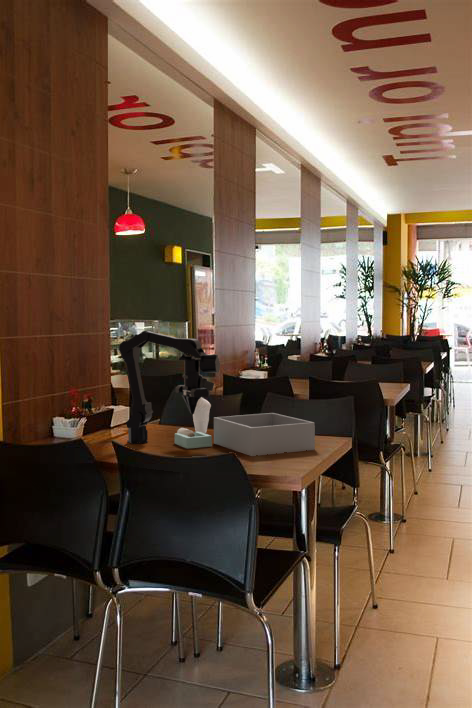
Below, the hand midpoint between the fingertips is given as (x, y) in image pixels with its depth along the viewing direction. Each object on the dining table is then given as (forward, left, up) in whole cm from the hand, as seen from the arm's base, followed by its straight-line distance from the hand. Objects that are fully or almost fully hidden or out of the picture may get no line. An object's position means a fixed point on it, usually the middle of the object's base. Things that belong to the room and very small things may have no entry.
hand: (192, 413), depth 273 cm
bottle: (-1, +8, -8) cm, 11 cm away
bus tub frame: (+22, -16, -12) cm, 29 cm away
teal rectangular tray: (0, 0, -12) cm, 12 cm away
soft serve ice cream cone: (+15, +24, -12) cm, 31 cm away
